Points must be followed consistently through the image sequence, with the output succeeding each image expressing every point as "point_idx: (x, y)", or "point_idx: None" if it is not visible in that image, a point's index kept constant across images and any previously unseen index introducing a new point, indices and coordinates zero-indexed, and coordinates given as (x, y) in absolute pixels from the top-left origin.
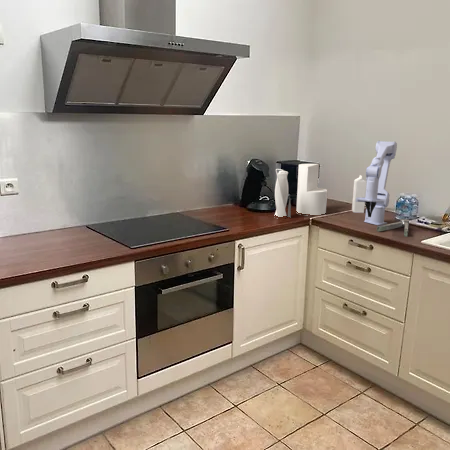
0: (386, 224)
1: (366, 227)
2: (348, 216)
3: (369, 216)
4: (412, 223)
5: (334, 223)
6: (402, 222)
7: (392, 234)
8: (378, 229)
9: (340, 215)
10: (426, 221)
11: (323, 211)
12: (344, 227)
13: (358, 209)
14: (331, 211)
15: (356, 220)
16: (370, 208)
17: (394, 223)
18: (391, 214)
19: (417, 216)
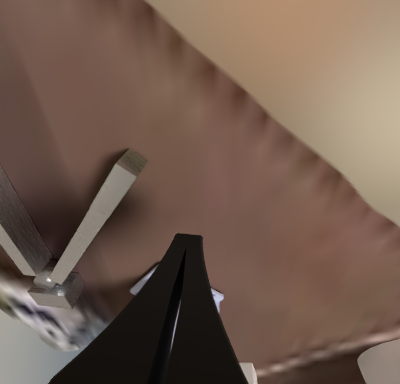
0: (97, 232)
1: (212, 223)
2: (277, 337)
3: (187, 237)
4: None
5: (385, 256)
6: (48, 278)
7: (37, 110)
8: (131, 158)
9: (306, 343)
10: (33, 320)
11: (390, 361)
12: (352, 193)
13: None
14: (327, 367)
15: (253, 306)
16: (161, 325)
17: (69, 257)
18: None
19: (76, 348)
